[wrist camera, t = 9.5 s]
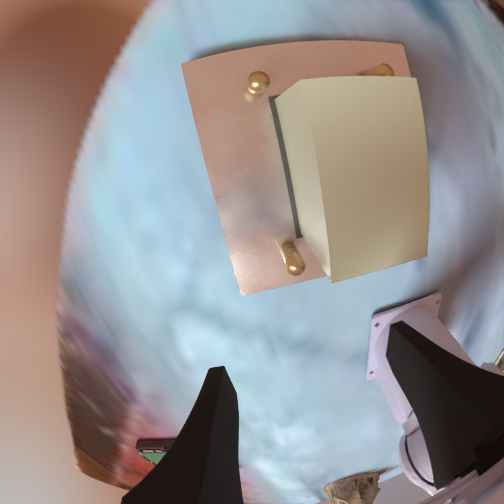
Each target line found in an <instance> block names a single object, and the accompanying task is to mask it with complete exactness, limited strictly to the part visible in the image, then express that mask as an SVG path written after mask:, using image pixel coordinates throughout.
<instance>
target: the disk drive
mask: <svg viewBox="0 0 504 504" xmlns="http://www.w3.org/2000/svg"><path fill="white" fill-rule="evenodd" d="M174 441H175V439H172V440H137V444H136V449H137V450H138V452H139V454H140V455H142V457H143V458H145V459H146V460H148V461H150V462H151V463H153V464H154V465H157V464H158V462H159V461H160V460H161V459H162V458H163V456H164V455H165V454H166V452H167V451H168V450H169V448H170V447H171V445H172V444H173V442H174Z"/></svg>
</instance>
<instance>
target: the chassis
mask: <svg viewBox="0 0 504 504" xmlns="http://www.w3.org/2000/svg"><path fill="white" fill-rule="evenodd" d="M181 66H182V71H183V75H184V79H185V83H186V88H187V92H188V96H189V100H190V104H191V108H192V113H193V117H194V121H195V125H196V129H197V133H198V137H199V141H200V145H201V149H202V153H203V156H204V160H205V164H206V168H207V172H208V176H209V180H210V183H211V187H212V191H213V195H214V198H215V202H216V206H217V210H218V213H219V217H220V221H221V224H222V228H223V232H224V235H225V239H226V242H227V246H228V250H229V253H230V257H231V260H232V264H233V267H234V271H235V274H236V278H237V281H238V285H239V288H240V292H241V295H246V294H251V293H255V292H260V291H264V290H269V289H273V288H278V287H282V286H286V285H291V284H295V283H299V282H303V281H308V280H312V279H316V278H320V277H324V276H327V274H326V273H325V271H324V269H323V268H322V266H321V264H320V263H319V261H318V259H317V258H316V256H315V255H314V253H313V251H312V250H311V248H310V246H309V245H308V243H307V242H306V240H305V238H304V237H303V235H302V234H301V232H300V226H299V219H298V213H297V208H296V202H295V196H294V191H293V185H292V180H291V174H290V169H289V164H288V159H287V154H286V149H285V144H284V139H283V134H282V130H281V125H280V121H279V116H278V112H277V107H276V103H275V99H276V98H277V97H278V96H280V95H281V94H282V93H283V92H285V91H286V90H287V89H289V88H290V87H291V86H292V85H294V84H295V83H296V82H298V81H299V80H302V79H312V78H324V77H341V76H395V77H411V74H410V70H409V66H408V62H407V58H406V54H405V51H404V47H403V44H395V43H385V42H373V41H353V40H323V41H302V42H290V43H280V44H271V45H264V46H257V47H251V48H245V49H239V50H234V51H229V52H224V53H220V54H215V55H211V56H207V57H203V58H199V59H195V60H192V61H188V62H185V63H181Z"/></svg>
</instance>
